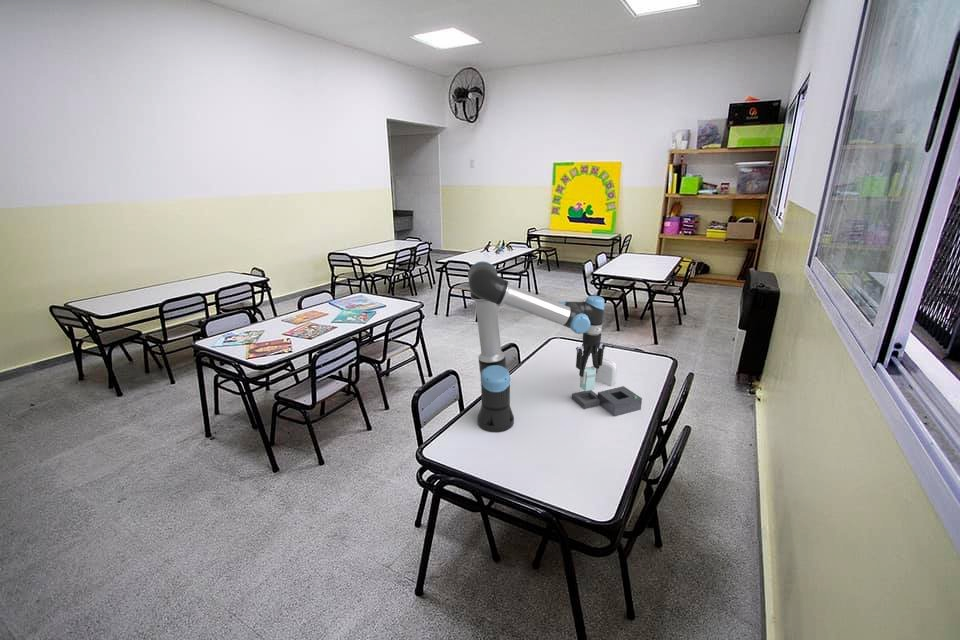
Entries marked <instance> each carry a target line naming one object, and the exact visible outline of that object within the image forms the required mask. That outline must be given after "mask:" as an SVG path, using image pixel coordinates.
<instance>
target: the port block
mask: <svg viewBox="0 0 960 640" xmlns="http://www.w3.org/2000/svg"><path fill="white" fill-rule="evenodd" d="M597 395H598V396H597V398H598V399H599V400H600V407H601V408H602V409H603V410H605V411H607V413H609V414H610V415H611V416H612V417H614V418H615V417H618V416H622V415H625V414H629V413H633V412H637V411H640V410H642V401H643V398H642V397H641V396H639V395H638V394H637V393H635V392H633V391H631V390H630V389H629V388H628V387H625V386H624V385H622V386H619V387H618V386H617V387H614V388H610V389H607V390H602V391H598V392H597Z"/></svg>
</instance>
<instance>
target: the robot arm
mask: <svg viewBox="0 0 960 640" xmlns="http://www.w3.org/2000/svg"><path fill="white" fill-rule="evenodd" d="M467 273H468V274H467V279H468V287H469V292H470V298H471V299H472V300H473V301H474V303H475V312H476V319H477V327H478V338H479V345H480V346H479V347H480V353H479V355H478V356H477V357H478V365H479V366H478V367H479V368H478V369H479V374H480V387H481V388H480V389H481V392H480V394H481V406H480V410H479V413H478V416H477V424H478V426H479V427H480V428H481V429H482V430H484V431H487V432H490V433H501V432H505V431H508V430H509V429H511V428H512V427H513V426H514V424H515V417H514V416H515V415H514V414H513V410H512V408H511V374H510V371H509V370H508V369H507V360H506V358H507V357H506V353H505V352H504V351H503V350H502V347H501V346H502V344H501V336H500V327H499V325H500V324H499V318H498V317H499V316H498V308H497V307H498V306H500V305H503V304H504V305H506V306H509V307H512V308H514V309H516V310H520V311H522V312H524V313H528V314H531V315H534V316H536V317H539V318H540V319H541V318H542V319H544V320H546V321H550V322H552V323H555V324H559V326H564V327H566V328H568V329H570V330H571V331H573V332H574V333H575V334H578V335H581V334H582V344H581V346H580V347H579V346H577V347H576V348H575V349H576V360H575V368H576V369H578V370H579V372H578V373H579V377H580V378H579V383H580V382H581V383H583V384H585V377H586V370H585V368H586V366H587V362H588V360H589V357H590V356H591V360H592V365H591V366H590V367H591V368H592V369H594V370H595V371H596V374H597V369H599V366H602V360H603V358H604V353H605V352H604V350H605V348H606V344H604V343H602V340H601V339H602V331H603V319H604V313H605V299H604V298H603V297H602V296H599V295H587V297H585V301H567V300H565V301H559V302H557V301H554V300H551V299H549V298H546V297H543V296H542V295H541V296H540V295H538V294H535V293H533V292H530V291H528V290H525V289H522V288H519V287H518V286H515V285H512V284H511V283H510V282H509V280H506V279H504V278H502V277H500V276H499V275H498V271H497V269H496V267H495V265H493V264H492V263H490V262H488V261H485V260H483V261H481V260H480V261H478V262H475V263H474V264H472V266H471V267H470V268H469V270H468V272H467ZM595 378H596V376H595Z"/></svg>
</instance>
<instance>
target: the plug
mask: <svg viewBox="0 0 960 640" xmlns="http://www.w3.org/2000/svg"><path fill="white" fill-rule="evenodd" d="M585 370H586V377H585V384H583V383H581V382H580V381H579V387H580V388H581V389H582V391H589V390H592V391H593V390H595V384H596V377H595V376H596V371H595V370H594V369H592V368H591V366H588V367H585Z"/></svg>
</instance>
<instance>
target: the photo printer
mask: <svg viewBox="0 0 960 640" xmlns="http://www.w3.org/2000/svg"><path fill="white" fill-rule="evenodd" d="M617 372H618V364H616V363H615V362H614V361H613V360H610V359H607V358H604V357H603V360H602V366H599V369H597V374H596V377H595V381H597V382H599V383H601V384H602V385H603V384H604V385H606V386H608V387H615V386H616V384H617V375H618V373H617Z"/></svg>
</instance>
